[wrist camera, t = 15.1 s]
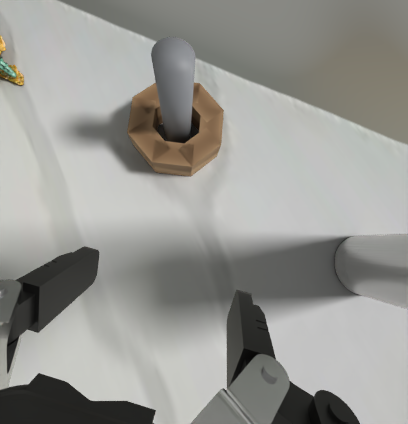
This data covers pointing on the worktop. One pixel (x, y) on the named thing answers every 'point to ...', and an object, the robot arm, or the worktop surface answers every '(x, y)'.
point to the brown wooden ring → (171, 151)
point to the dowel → (174, 86)
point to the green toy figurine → (9, 68)
